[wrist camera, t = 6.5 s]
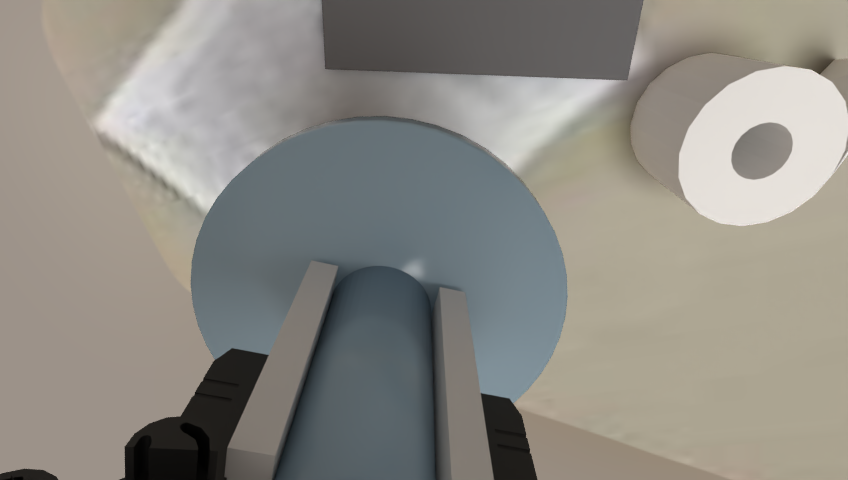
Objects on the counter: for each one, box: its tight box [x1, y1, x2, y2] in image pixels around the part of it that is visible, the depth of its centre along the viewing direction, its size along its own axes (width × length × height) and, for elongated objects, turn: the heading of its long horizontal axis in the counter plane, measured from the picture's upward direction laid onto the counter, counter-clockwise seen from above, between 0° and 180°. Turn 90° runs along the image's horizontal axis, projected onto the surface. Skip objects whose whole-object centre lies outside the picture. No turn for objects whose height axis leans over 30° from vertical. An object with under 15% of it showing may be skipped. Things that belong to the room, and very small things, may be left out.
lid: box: [191, 116, 568, 480], centre depth 12 cm, size 11×11×8 cm
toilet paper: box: [631, 53, 848, 226], centre depth 27 cm, size 8×11×7 cm
